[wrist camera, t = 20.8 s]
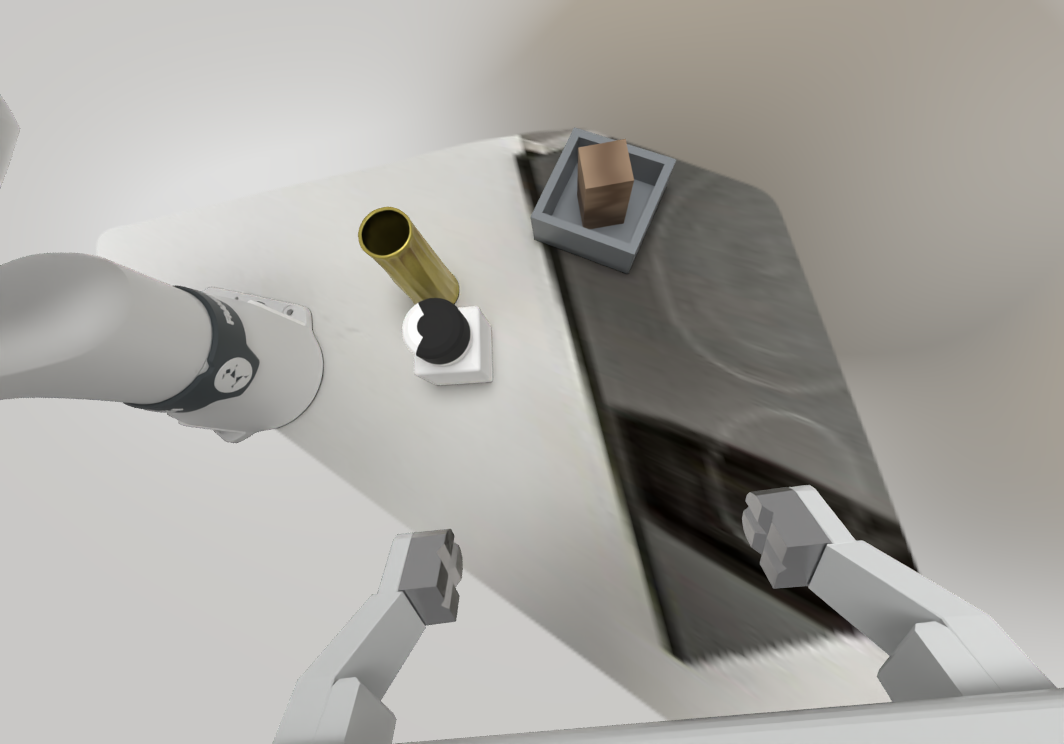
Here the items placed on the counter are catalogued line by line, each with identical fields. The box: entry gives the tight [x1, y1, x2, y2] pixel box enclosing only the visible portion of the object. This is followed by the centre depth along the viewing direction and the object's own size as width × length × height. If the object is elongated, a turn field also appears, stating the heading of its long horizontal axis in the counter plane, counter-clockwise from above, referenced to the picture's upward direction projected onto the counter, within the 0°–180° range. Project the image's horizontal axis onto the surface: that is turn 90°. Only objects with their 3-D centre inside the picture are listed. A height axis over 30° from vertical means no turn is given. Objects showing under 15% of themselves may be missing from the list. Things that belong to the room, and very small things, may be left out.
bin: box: [531, 128, 676, 274], centre depth 48 cm, size 13×13×5 cm
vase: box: [358, 207, 459, 304], centre depth 43 cm, size 6×6×14 cm
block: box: [577, 139, 634, 229], centre depth 45 cm, size 5×5×8 cm
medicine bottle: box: [402, 298, 493, 385], centre depth 42 cm, size 7×7×12 cm
